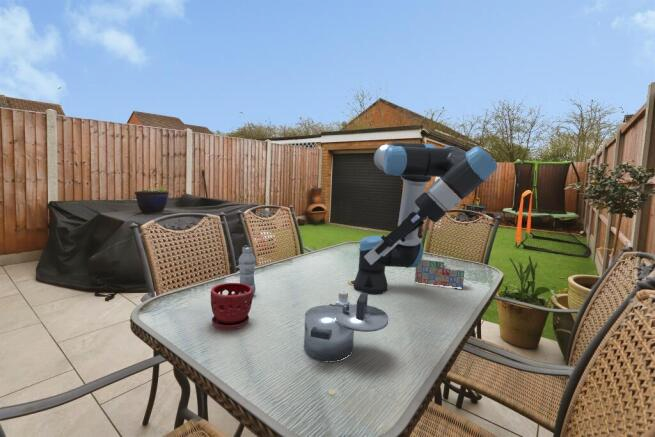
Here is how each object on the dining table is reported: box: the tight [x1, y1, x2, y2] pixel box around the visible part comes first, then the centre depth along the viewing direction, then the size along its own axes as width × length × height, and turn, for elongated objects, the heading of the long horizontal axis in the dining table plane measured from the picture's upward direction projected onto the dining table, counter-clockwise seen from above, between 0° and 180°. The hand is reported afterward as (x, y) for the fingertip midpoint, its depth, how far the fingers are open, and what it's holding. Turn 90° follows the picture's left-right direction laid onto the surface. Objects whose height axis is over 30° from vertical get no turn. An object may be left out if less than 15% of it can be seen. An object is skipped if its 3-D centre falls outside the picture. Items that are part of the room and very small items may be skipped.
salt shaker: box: [334, 290, 351, 306], centre depth 112 cm, size 4×4×10 cm
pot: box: [303, 303, 355, 363], centre depth 92 cm, size 14×19×10 cm
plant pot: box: [210, 282, 254, 330], centre depth 105 cm, size 13×13×12 cm
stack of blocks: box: [414, 256, 465, 288], centre depth 152 cm, size 21×6×12 cm, turn 71°
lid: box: [335, 292, 389, 333], centre depth 88 cm, size 15×15×6 cm
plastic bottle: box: [238, 245, 256, 296], centre depth 129 cm, size 6×7×20 cm
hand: (374, 256), depth 86 cm, fingers open, 13 cm apart
